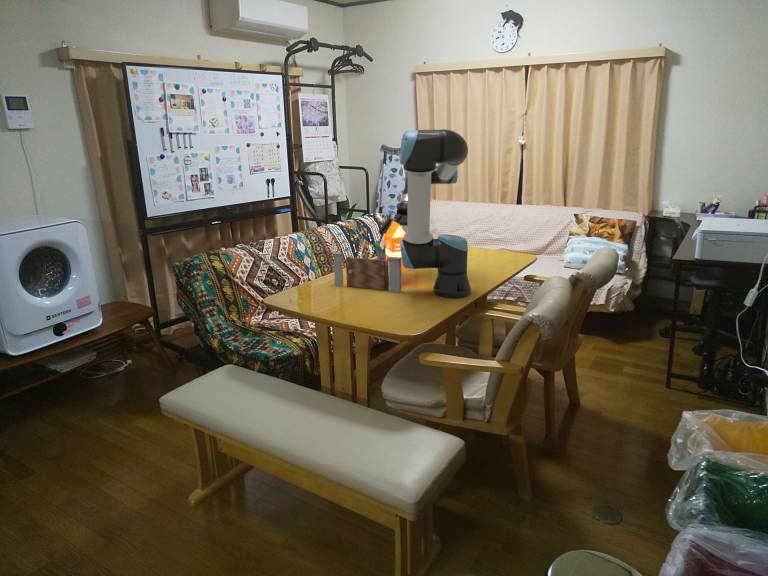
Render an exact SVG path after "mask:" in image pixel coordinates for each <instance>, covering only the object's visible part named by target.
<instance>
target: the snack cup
mask: <svg viewBox="0 0 768 576" xmlns="http://www.w3.org/2000/svg"><path fill="white" fill-rule="evenodd" d="M380 243H381V241H380V239H379V240H376V241H374V243H373V245H374V249H375V250H374V251H375V253H376V258H377V260H386V243H385V246H384V249H383V250H381V248H380V247H379V246H380Z"/></svg>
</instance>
